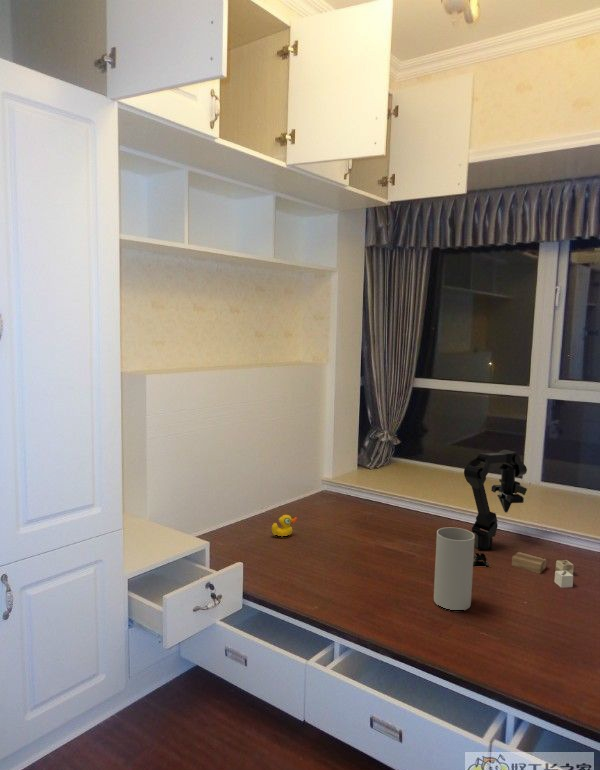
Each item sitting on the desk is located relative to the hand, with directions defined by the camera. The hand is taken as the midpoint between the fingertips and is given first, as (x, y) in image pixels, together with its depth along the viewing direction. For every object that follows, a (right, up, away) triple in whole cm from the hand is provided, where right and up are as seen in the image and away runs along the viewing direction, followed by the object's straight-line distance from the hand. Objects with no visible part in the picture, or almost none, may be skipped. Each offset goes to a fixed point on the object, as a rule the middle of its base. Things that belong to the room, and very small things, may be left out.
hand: (505, 512), depth 256 cm
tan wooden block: (-1, -16, -27) cm, 31 cm away
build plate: (-20, -16, -25) cm, 36 cm away
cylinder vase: (-40, -19, -58) cm, 73 cm away
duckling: (-100, -11, 0) cm, 101 cm away
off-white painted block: (+7, -18, -42) cm, 46 cm away
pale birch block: (+11, -17, -32) cm, 38 cm away
